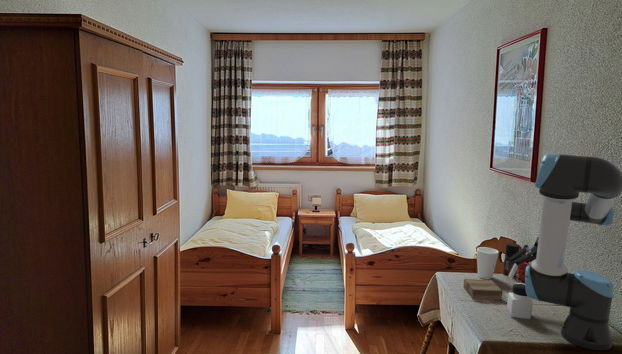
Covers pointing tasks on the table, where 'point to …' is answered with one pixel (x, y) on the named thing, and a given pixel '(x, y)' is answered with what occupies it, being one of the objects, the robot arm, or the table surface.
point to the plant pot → (522, 271)
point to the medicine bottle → (519, 302)
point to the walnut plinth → (482, 289)
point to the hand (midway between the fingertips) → (526, 284)
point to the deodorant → (509, 252)
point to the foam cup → (486, 262)
